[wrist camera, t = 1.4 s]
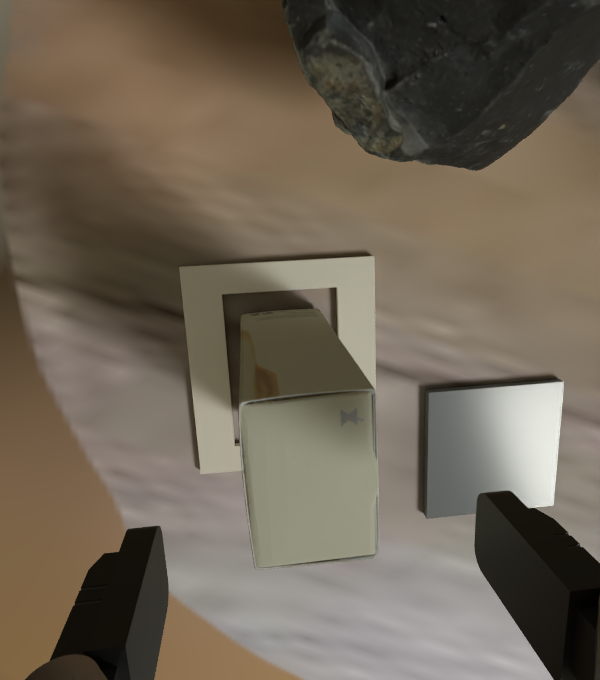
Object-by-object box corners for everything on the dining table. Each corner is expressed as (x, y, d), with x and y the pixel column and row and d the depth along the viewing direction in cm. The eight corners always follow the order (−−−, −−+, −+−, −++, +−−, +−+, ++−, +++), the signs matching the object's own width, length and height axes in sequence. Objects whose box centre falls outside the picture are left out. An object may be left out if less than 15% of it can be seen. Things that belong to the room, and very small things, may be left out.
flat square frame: (372, 255, 27) (374, 256, 26) (374, 454, 29) (376, 457, 29) (180, 266, 26) (179, 267, 25) (201, 470, 28) (200, 474, 28)
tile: (558, 378, 29) (563, 381, 29) (548, 500, 31) (553, 505, 31) (425, 389, 29) (428, 392, 28) (423, 513, 31) (426, 518, 30)
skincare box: (238, 312, 26) (232, 390, 15) (320, 306, 27) (379, 377, 15) (249, 425, 28) (250, 578, 16) (326, 418, 28) (382, 562, 17)
